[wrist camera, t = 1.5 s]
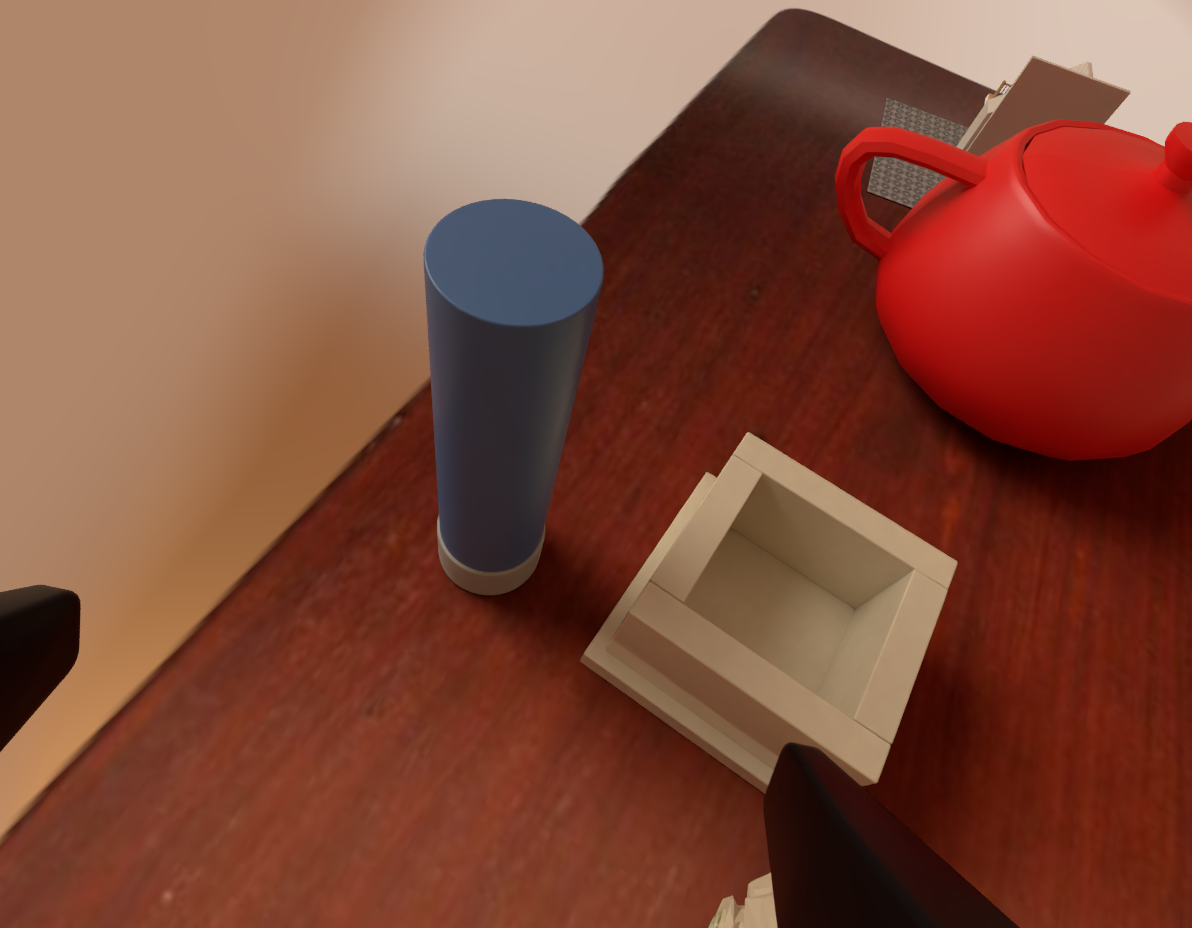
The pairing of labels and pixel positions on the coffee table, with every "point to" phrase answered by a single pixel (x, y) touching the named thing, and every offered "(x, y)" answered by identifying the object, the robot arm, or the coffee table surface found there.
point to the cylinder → (503, 378)
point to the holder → (777, 619)
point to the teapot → (1041, 283)
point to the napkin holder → (995, 121)
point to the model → (749, 908)
